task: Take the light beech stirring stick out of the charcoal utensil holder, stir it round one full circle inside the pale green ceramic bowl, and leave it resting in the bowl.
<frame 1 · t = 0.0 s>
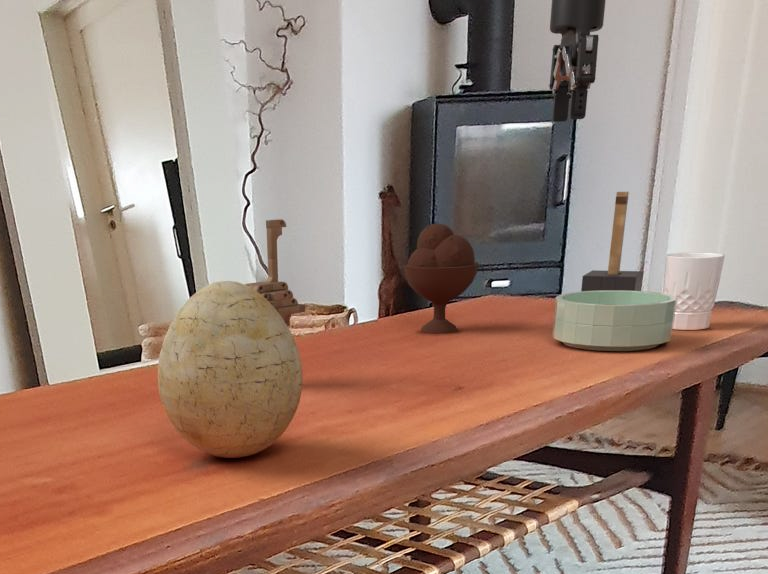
hand: (568, 120, 146), 28 cm above the table, tool pointing down, fingers open, 8 cm apart
wooden hook post: (236, 393, 113), on the table
mixing bowl: (610, 342, 134), on the table
stirring stick: (615, 253, 155), in the utensil holder
ice cream bowl: (438, 331, 147), on the table
utensil holder: (609, 312, 159), on the table
white cup: (684, 328, 144), on the table
fossilized egg: (234, 457, 88), on the table
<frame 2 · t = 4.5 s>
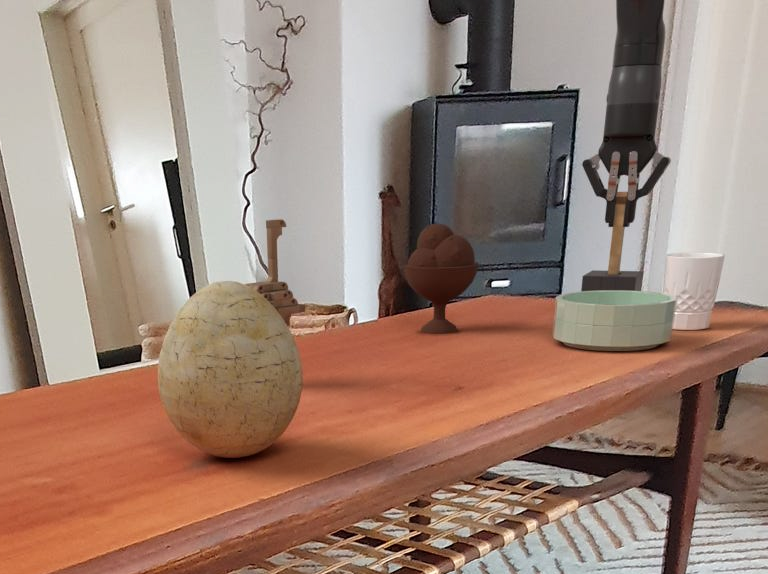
hand: (618, 226, 153), 13 cm above the table, tool pointing down, fingers closed on stirring stick, 1 cm apart
stirring stick: (615, 253, 155), in the utensil holder, touching gripper
everything else where it was.
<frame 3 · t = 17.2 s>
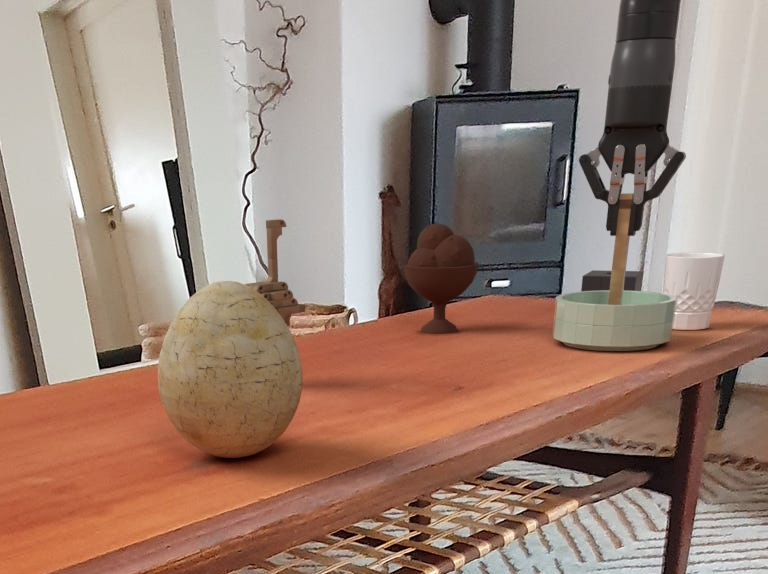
hand: (622, 234, 128), 14 cm above the table, tool pointing down, fingers closed on stirring stick
stirring stick: (619, 267, 129), in the mixing bowl, point 10 cm above the table, touching gripper
everything else where it was.
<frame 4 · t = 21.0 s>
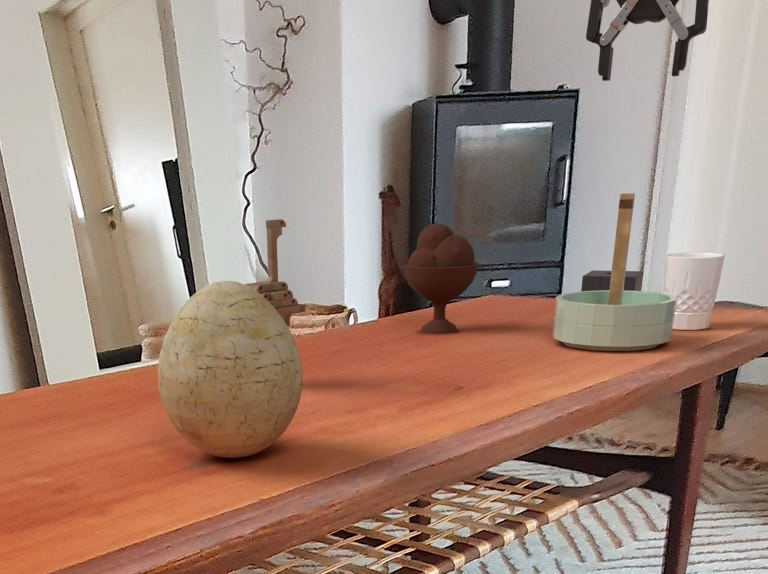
hand: (639, 78, 125), 32 cm above the table, tool pointing down, fingers open, 8 cm apart
stirring stick: (619, 267, 129), in the mixing bowl, point 10 cm above the table
everything else where it was.
at the end: stirring stick inside the target area in the mixing bowl (0.0 cm from its centre), point 9.8 cm above the mixing bowl's base; stirring stick moved 29.4 cm from its start; the gripper is holding nothing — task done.
